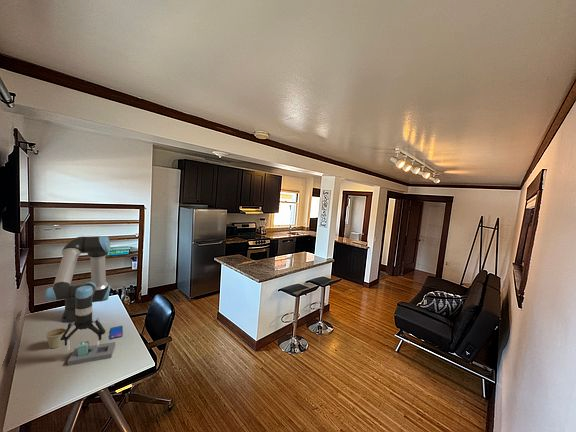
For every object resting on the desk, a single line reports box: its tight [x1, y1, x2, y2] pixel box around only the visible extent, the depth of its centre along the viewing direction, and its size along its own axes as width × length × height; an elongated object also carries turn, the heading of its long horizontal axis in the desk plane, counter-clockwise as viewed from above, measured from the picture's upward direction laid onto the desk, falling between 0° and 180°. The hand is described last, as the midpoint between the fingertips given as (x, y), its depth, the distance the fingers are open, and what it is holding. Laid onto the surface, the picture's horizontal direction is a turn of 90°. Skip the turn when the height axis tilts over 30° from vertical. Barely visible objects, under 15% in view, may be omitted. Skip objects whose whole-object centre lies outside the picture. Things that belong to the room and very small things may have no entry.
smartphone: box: [109, 325, 124, 340], centre depth 168 cm, size 7×1×15 cm
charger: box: [77, 340, 90, 356], centre depth 142 cm, size 4×4×9 cm
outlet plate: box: [67, 341, 116, 366], centre depth 145 cm, size 12×20×2 cm, turn 116°
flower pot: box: [45, 327, 67, 349], centre depth 150 cm, size 9×9×9 cm
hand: (83, 347), depth 143 cm, fingers open, 13 cm apart
